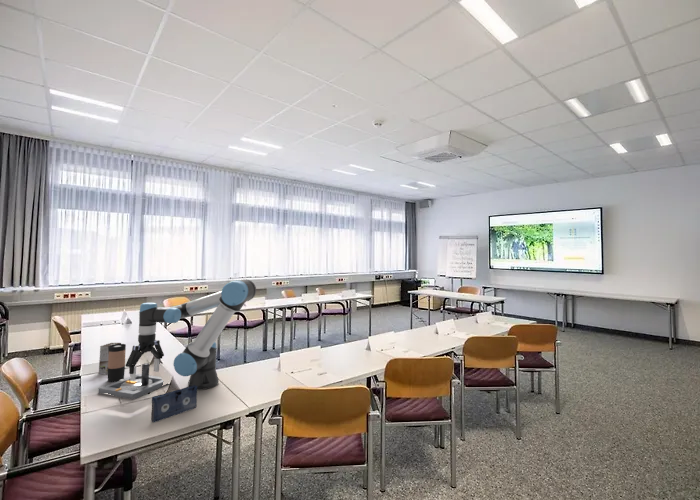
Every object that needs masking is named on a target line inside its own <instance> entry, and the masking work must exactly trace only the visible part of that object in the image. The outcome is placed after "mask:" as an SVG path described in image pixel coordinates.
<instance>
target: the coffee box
mask: <svg viewBox="0 0 700 500" xmlns="http://www.w3.org/2000/svg"><path fill="white" fill-rule="evenodd" d="M115 344H122V342H110V343H109V342H108V343H106V344H103V345H100V346H99V348H100V349H99V360H98V361H99V362H98V363H99V364H98V374H100V375H108V356H109V346H111V345H115Z"/></svg>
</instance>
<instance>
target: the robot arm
mask: <svg viewBox="0 0 700 500" xmlns="http://www.w3.org/2000/svg"><path fill="white" fill-rule="evenodd" d="M256 294H257V286H256V285H255V283H254V282H253V281H251V280H249V279H240V280H239V279H238V280H237V279H235V280H231V281H230V282H228V283H226V284H225V285H223V287H222V289H221V291H218V292H215V293H212V294H209V295H206V296H202V297H199V298H197V299H193V300H191V301H187V302H185V303H181V304H179V305H173V306H169V307H159V306H158V303H157V302H143V303H141V304H140V306H139V312H138V313H139V314H138V315H139V317H138V319H139V320H138V321H139V322H138V323H139V324H138V335H137V342H138V345H133V346H132V349H131V352H130V354H129V356H128V358H127V360H126V362H125V368H126V367H127V368H129V371H128V374H129V377H130V380H133V381H135V380H136V375H137V364H138V362H139V360H140V359H141V357H142V356H143V355H144V354H146V353H148V352H149V353H151V354H152V355H153V357H155V358H154V359H153V372H155V373H159V371H160V365H161V359H163V357H164V356H165V353H164V352H163V351H164V350H163V348H162V346H161V344H160V343H161V342H160V341H161V340H158V339H156V335H157V334H156V332H157V331H156V330H157V323H161V324H162V323H164V324H166V323H167V324H176V323H178V322H179V321H180V319H186V318H189V317H191V316H194V315H197V314H201V313H203V312H206V311H210V310H212V309H214V311H213V312H212V314H211V316H210V317H209V319H208V320H207V321H206V323H205V325H203V327H202V328H201V330H200V332H199V333H198V335H197V336H196V337H195V339H194V341H191V342H189V343H188V344H187V345H186V347H185V348H184V350H183V351H182V352H180V353H178V354H177V355H176V356H175V357H174V360H173V368H174V371H175V372H176V373H177V374H178V375H179V376H180V377H181V376H182V377H189V379H188V381H187V382H188V383H187V387H190V386H193V385H196V386H197V391H198V390H199V391H200V390H207V389H212V388H215V387H216V386H218V385H219V379H220V378H219V376H218V373H217V367H216V366H217V349H218V348H217V343H216V340H217V339H218V337H219V336H220V335H221V333H222V332H223V330H224V329H225V328H226V325H228V323H229V322H230V320H231V319H232V317H233V315H234V314H235V313H236V312H238V313H239V312H240V311H241V309H242V308H243V306H244V305H245V303H246V302H249V301H251V300H253V299H254V297H255V296H256Z"/></svg>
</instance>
